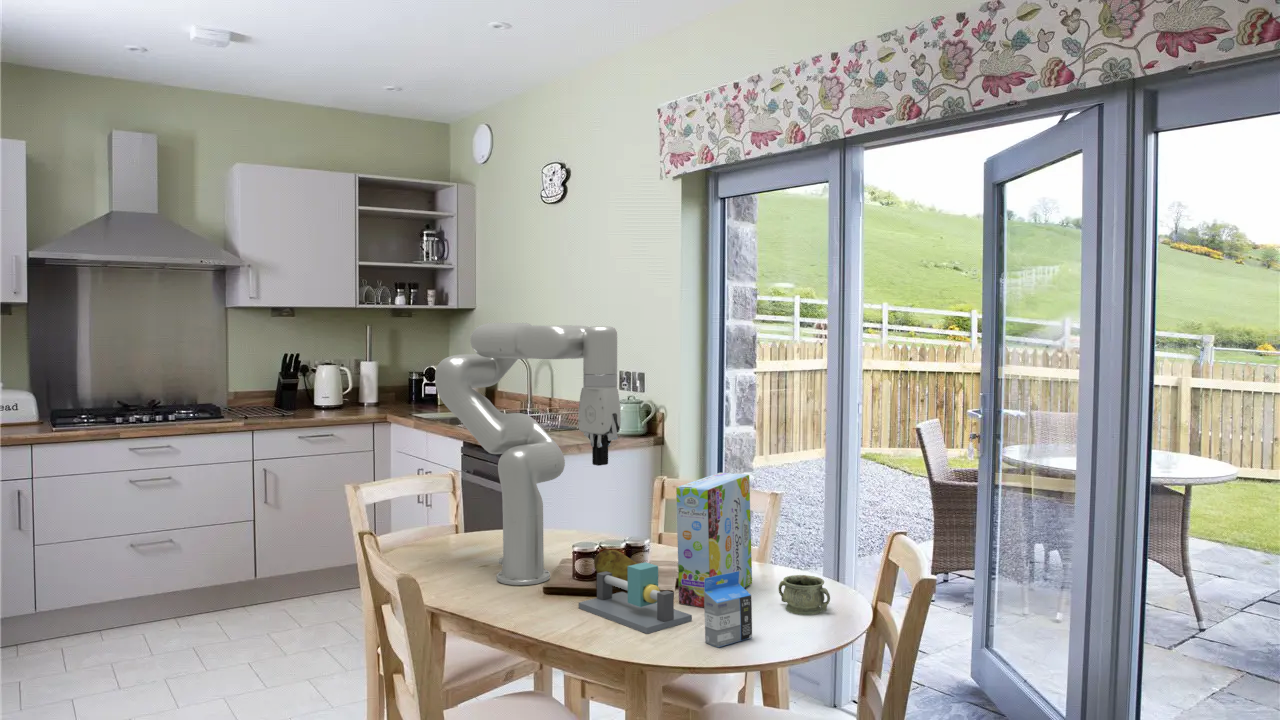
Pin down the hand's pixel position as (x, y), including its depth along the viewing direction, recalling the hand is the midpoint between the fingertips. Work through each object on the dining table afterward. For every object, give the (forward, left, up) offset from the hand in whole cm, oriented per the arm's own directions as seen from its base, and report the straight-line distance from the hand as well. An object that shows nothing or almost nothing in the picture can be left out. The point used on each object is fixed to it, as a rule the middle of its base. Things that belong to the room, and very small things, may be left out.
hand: (600, 464), depth 201 cm
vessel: (+37, +25, -29) cm, 53 cm away
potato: (-2, +7, -29) cm, 30 cm away
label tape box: (+40, -1, -29) cm, 49 cm away
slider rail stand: (+16, -4, -29) cm, 33 cm away
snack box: (+17, +19, -29) cm, 39 cm away
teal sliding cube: (+19, -4, -26) cm, 32 cm away
